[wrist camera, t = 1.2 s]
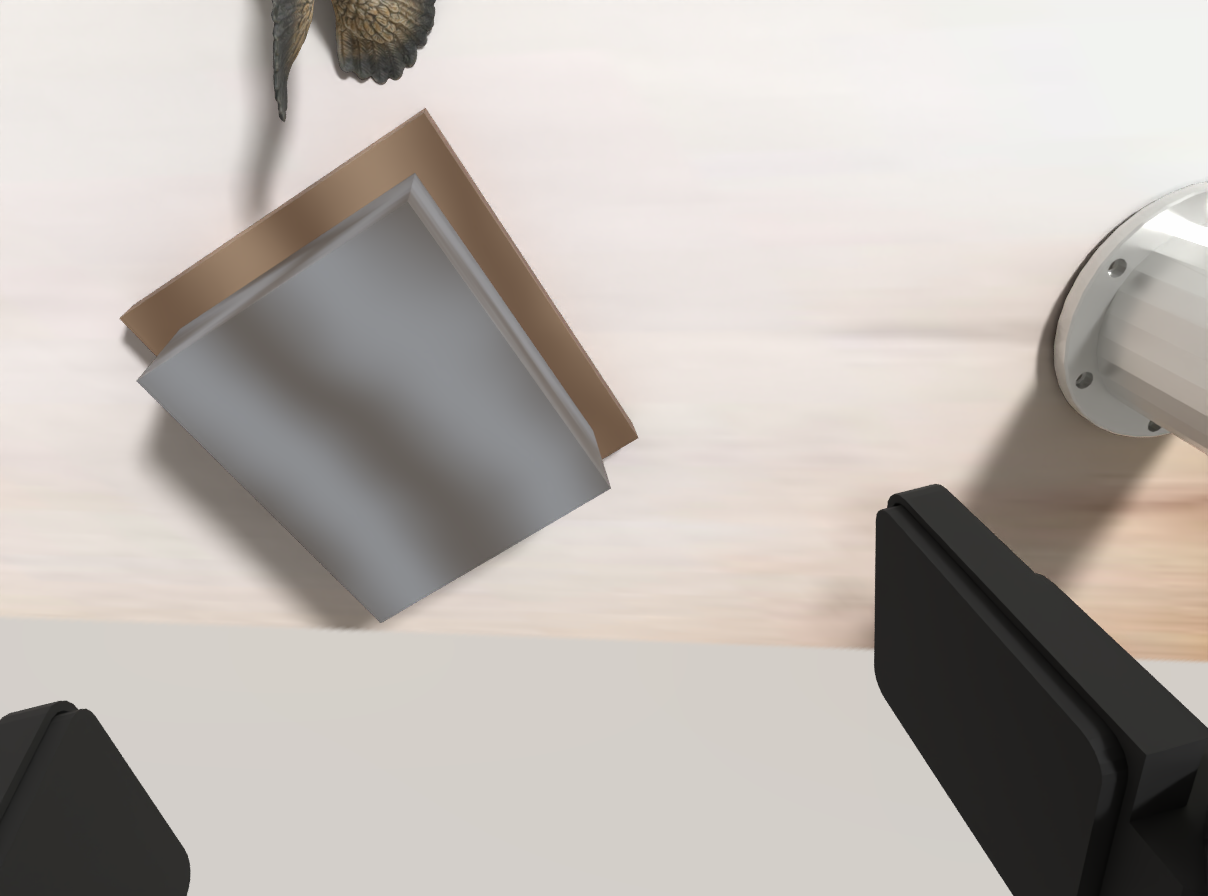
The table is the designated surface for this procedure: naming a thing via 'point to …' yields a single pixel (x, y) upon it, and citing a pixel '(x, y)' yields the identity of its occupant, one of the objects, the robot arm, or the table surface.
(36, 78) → the table surface
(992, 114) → the table surface
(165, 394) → the pedestal
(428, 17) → the eagle figurine
